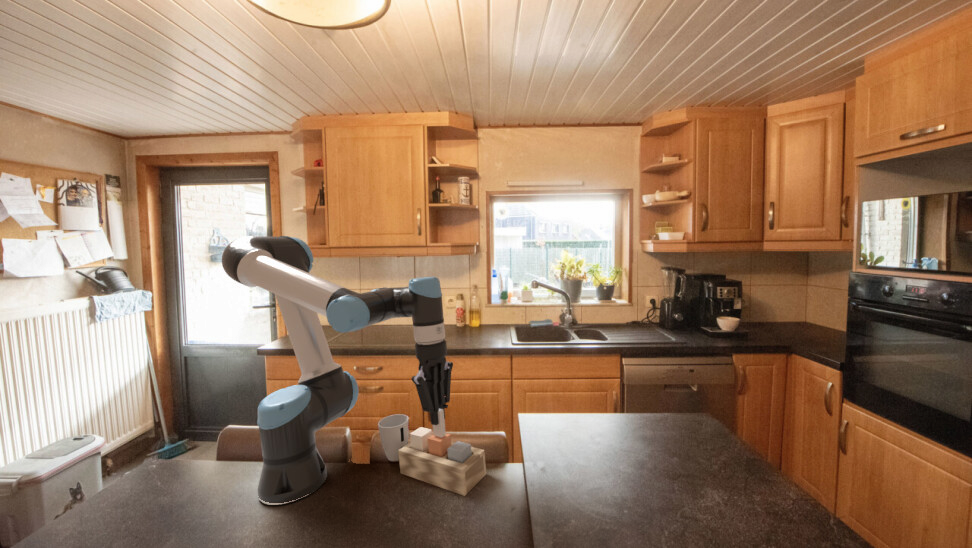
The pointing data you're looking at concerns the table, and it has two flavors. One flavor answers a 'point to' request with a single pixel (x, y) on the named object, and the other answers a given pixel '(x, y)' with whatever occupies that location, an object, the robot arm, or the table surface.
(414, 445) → the key white
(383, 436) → the cup
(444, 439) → the key terracotta
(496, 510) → the table surface
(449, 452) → the key blue
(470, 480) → the wooden box
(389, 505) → the table surface
